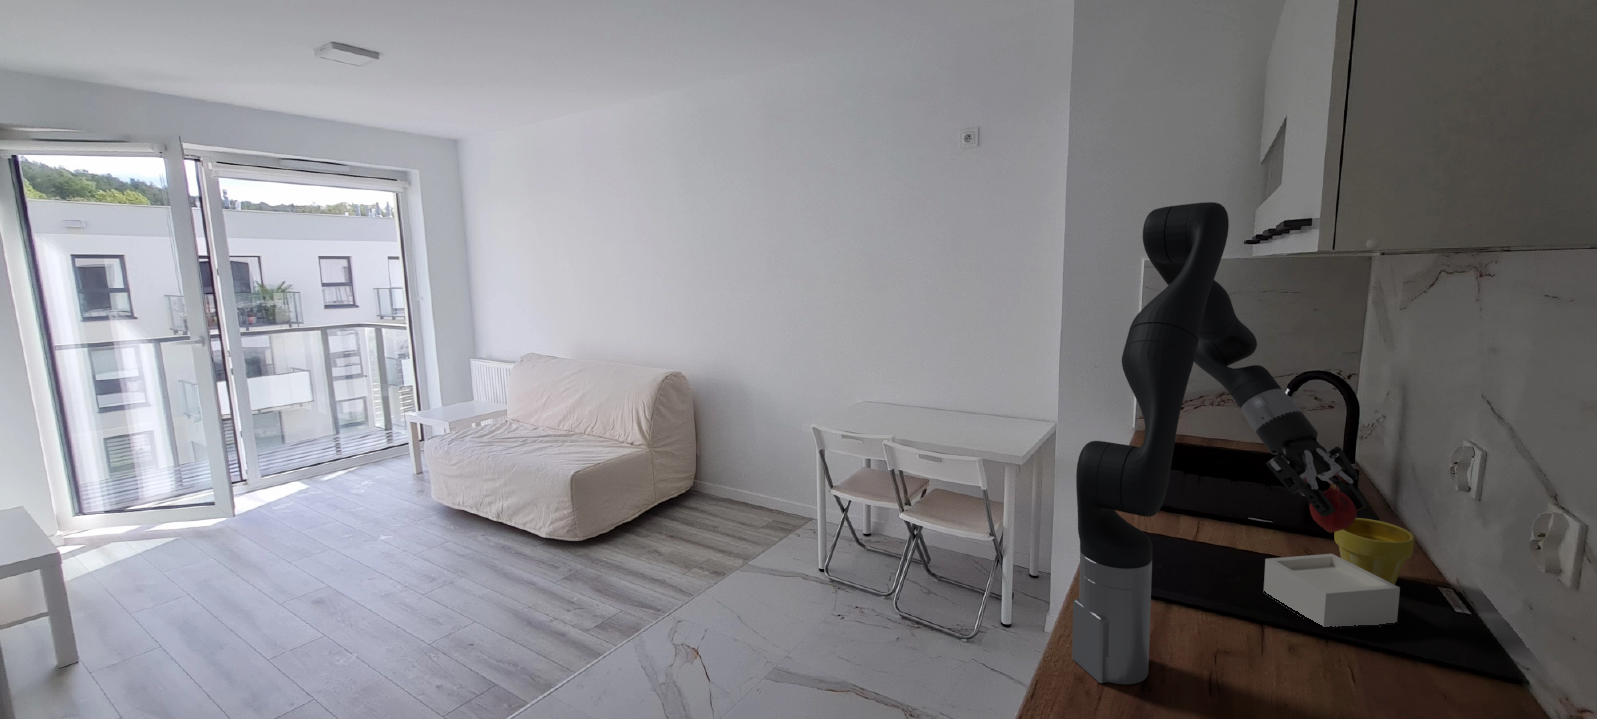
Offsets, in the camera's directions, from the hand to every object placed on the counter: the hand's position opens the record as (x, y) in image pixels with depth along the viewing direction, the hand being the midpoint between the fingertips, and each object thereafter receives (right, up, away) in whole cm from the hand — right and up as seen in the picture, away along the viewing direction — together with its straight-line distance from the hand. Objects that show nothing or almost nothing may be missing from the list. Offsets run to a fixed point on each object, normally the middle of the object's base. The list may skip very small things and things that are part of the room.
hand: (1344, 511), depth 102 cm
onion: (0, -4, +2) cm, 5 cm away
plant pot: (+14, -15, +12) cm, 24 cm away
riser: (0, -17, +4) cm, 18 cm away
